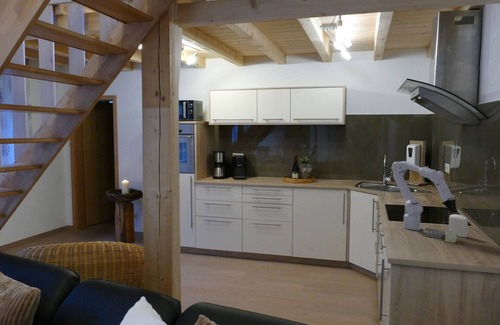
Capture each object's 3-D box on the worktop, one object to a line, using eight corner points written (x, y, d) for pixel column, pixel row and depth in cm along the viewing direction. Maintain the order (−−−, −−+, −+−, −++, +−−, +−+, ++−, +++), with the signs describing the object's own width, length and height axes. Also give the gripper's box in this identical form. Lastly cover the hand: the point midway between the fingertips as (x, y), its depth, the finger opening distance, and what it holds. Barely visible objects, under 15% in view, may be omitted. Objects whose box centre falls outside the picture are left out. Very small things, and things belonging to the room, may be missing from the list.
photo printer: (447, 233, 231) (448, 213, 229) (451, 232, 233) (452, 212, 231) (463, 238, 222) (465, 217, 220) (468, 236, 224) (469, 216, 222)
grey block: (422, 236, 226) (422, 231, 226) (426, 232, 234) (426, 227, 234) (441, 239, 221) (441, 234, 220) (444, 235, 229) (444, 230, 228)
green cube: (445, 241, 216) (445, 232, 216) (446, 239, 220) (446, 230, 220) (454, 242, 213) (455, 234, 213) (456, 240, 217) (456, 232, 217)
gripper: (448, 187, 215) (459, 210, 211) (452, 188, 227) (463, 210, 222) (435, 192, 219) (446, 214, 215) (441, 193, 230) (451, 214, 226)
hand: (454, 212), depth 219 cm, fingers open, 7 cm apart
